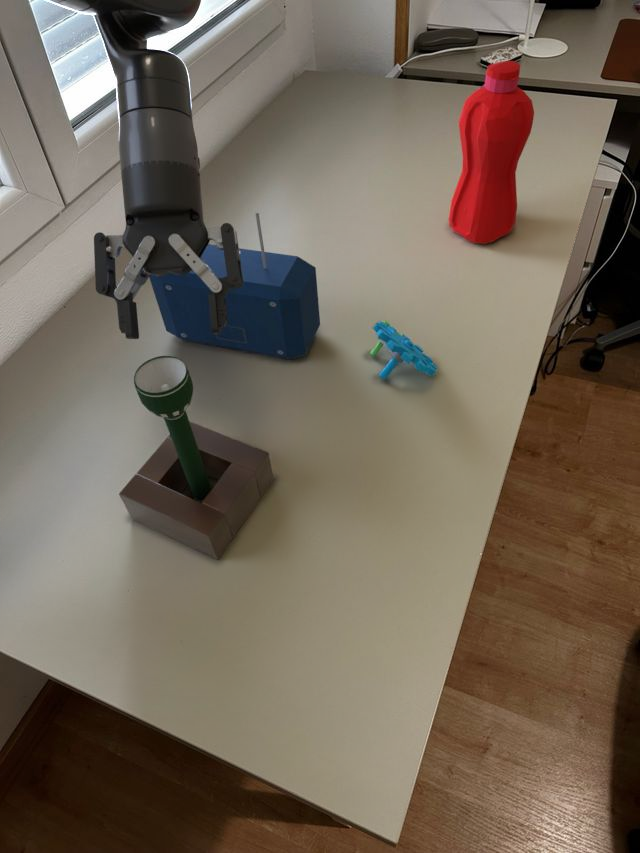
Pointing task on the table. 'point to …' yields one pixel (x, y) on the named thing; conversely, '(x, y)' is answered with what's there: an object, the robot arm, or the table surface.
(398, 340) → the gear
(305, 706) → the table surface
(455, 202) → the water bottle
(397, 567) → the table surface
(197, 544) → the holder
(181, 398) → the flashlight
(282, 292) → the radio
